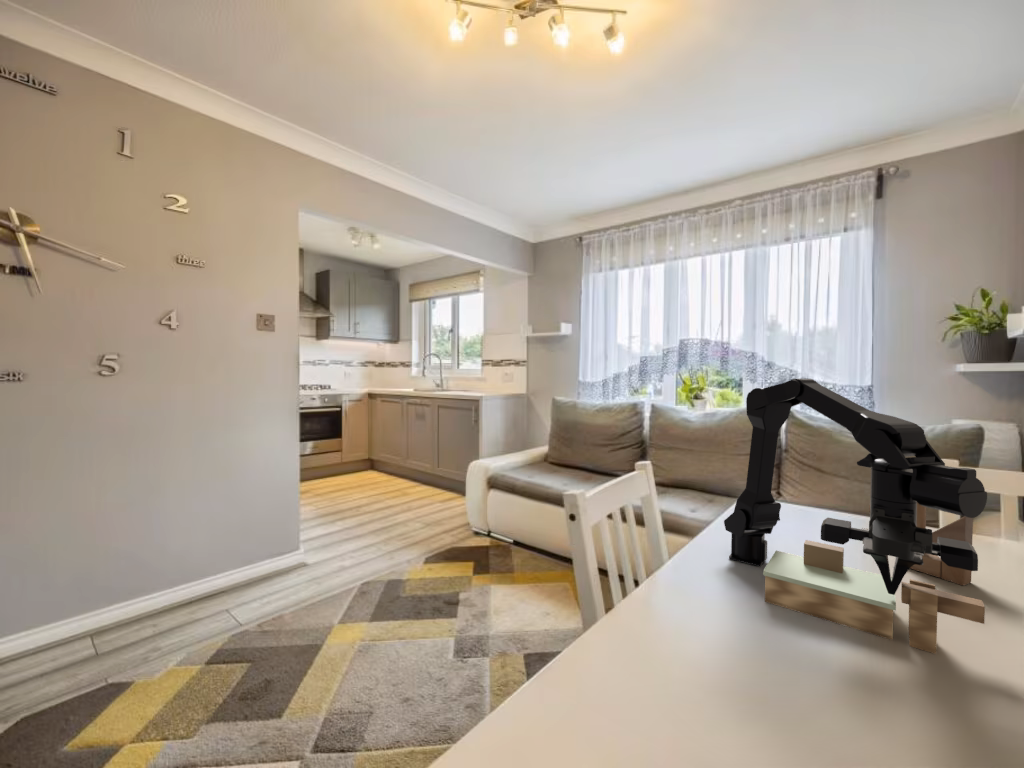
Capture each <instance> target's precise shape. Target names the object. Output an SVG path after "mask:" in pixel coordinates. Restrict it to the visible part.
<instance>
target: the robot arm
mask: <svg viewBox="0 0 1024 768" xmlns="http://www.w3.org/2000/svg"><path fill="white" fill-rule="evenodd" d="M745 400H746V401H745V402H746V403H745V404H746V407H745V408H746V416H747V418H748V420H749V422H750V424H751V426H752V432H751V440H750V449H749V458H748V465H747V474H746V485H745V488H744V490H743V491H742V492H741V493H740V495H739V496H738V497H737V499H736V502H735V506H734V509H733V512H732V513H731V514H730V515H729V516H728V517H727V518H725V519H724V520H723V525H724V528H725V529H724V530H725V531H727V532H728V533H731V539H730V540H731V544H730V545H731V546H730V547H731V549H730V550H731V552H730V555H728V558H729V559H730V560H732V561H736V562H737V561H738V562H741V563H745V564H749V565H753V566H755V567H761V566H762V565H763V563H765V562H766V561H767V559H768V541H767V540H766V539H765V538H766V534H767V535H768V534H769V535H771V534H772V532H773V529H774V527H775V526H777V524H778V521H779V522H780V521H781V519H780V512H781V508H782V505H781V503H780V502H777V501H776V500H775V498H774V496H773V494H772V488H773V479H774V478H773V477H774V471H775V463H776V455H777V446H778V439H779V431H780V429H781V428H782V427H783V425H784V424H785V423H786V421H787V420H788V418H789V417H790V412H791V411H792V410H791V409H792V407H795V406H798V405H800V404H804V405H805V406H807V407H808V408H811V409H812V410H814V411H816V412H817V413H819V414H821V415H823V416H824V417H826V418H828V419H830V420H831V421H833V422H834V423H836V424H838V425H840V426H841V427H843V428H845V429H846V430H847V431H849V433H851V435H852V437H853V439H854V440H855V442H856V443H858V444H859V445H860V446H861V447H863V448H864V449H865V450H866V451H867V452H868V454H866V456H865V457H863V458H861V459H859V460H858V461H857V462H856V464H857V466H859V467H863V468H868V469H870V493H869V494H870V502H869V505H870V512H869V522H868V530H867V529H866V530H865V529H862V528H856V527H852V521H850V520H845V519H839V518H832V517H826V518H825V519H824V520H823V521H822V523H821V526H820V540H822V541H824V542H828V543H833V544H838V545H845V544H847V543H848V542H850V540H853V541H854V540H855V541H859V542H862V544H863V547H862V551H863V553H864V554H865V555H868V556H871V557H872V559H873V560H874V561H875V564H876V566H877V567H878V571H879V572H880V575H882V578H883V580H884V583H885V586H886V589H887V591H888V594H892V595H895V596H896V593H897V591H898V589H899V586H900V585H901V584H902V582H903V581H902V580H903V578H904V577H905V575H906V574H907V572H908V571H909V570H910V568H911V567H912V566H913V565H915V564H916V565H923V557H922V556H924V553H926V554H931V555H936V556H938V557H940V558H941V560H942V561H943V562H944V563H945V564H946V565H947V566H950V567H955V568H960V569H965V570H970V571H971V572H977V571H979V557H978V556H979V555H978V553H977V550H975V549H976V548H975V547H974V546H973V544H972V545H971V544H970V543H969V542H965V541H960V540H954V539H948V538H942V537H938V539H937V543H934V542H932V532H933V530H932V529H931V528H927V527H926V528H920V527H916V526H917V502H918V503H919V504H920V505H921V506H924V507H926V508H929V509H933V510H937V511H941V512H944V513H949V514H952V515H953V514H954V515H957V516H962V517H969V518H973V519H974V518H977V517H979V516H980V515H981V514H982V513H983V511H984V509H985V508H986V504H987V501H988V493H987V491H985V486H984V484H983V482H982V481H981V480H980V479H979V478H977V470H976V469H974V468H968V467H954V466H948V465H946V463H945V461H943V459H942V458H941V457H940V456H939V454H938V453H937V451H936V450H935V449H934V448H933V447H932V445H931V444H930V443H929V442H928V440H927V437H926V434H925V430H924V429H923V428H922V427H921V426H920V425H919V424H917V423H915V422H912V421H909V420H906V419H902V418H899V417H896V416H894V415H889V414H884V413H881V412H877V411H876V412H875V411H872V410H871V409H868V408H867V407H863V406H861V405H860V404H858V403H857V402H854V401H852V400H851V399H848V398H847V397H845V396H843V395H841V394H839V393H836V392H835V391H833V390H831V389H829V388H827V387H825V386H824V385H821V384H820V383H819V382H817V381H816V380H814V379H812V378H792V379H790V380H787V381H785V382H782V383H779V384H774V385H771V386H767V387H756V388H753V389H752V390H750V392H748V393H747V395H746V399H745ZM889 556H890V557H895V561H894V566H893V571H892V576H891V569H890V562H889ZM891 577H892V581H891Z"/></svg>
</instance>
